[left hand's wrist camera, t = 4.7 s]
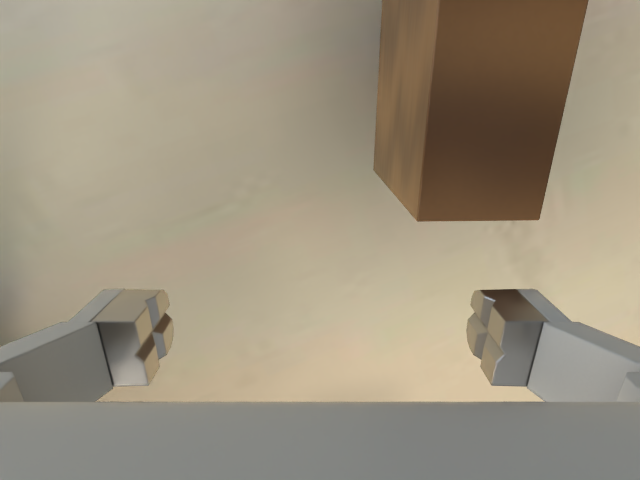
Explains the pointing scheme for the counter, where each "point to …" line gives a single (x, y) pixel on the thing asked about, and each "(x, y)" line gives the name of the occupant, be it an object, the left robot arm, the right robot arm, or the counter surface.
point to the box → (473, 103)
